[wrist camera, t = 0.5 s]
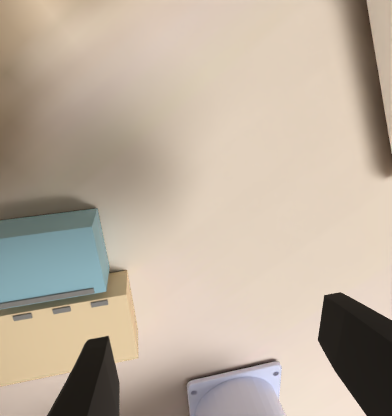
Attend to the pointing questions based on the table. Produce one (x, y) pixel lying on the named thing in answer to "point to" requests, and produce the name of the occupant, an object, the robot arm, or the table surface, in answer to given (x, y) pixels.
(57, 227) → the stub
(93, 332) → the cream usb hub
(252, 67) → the table surface
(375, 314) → the robot arm
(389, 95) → the bracket
